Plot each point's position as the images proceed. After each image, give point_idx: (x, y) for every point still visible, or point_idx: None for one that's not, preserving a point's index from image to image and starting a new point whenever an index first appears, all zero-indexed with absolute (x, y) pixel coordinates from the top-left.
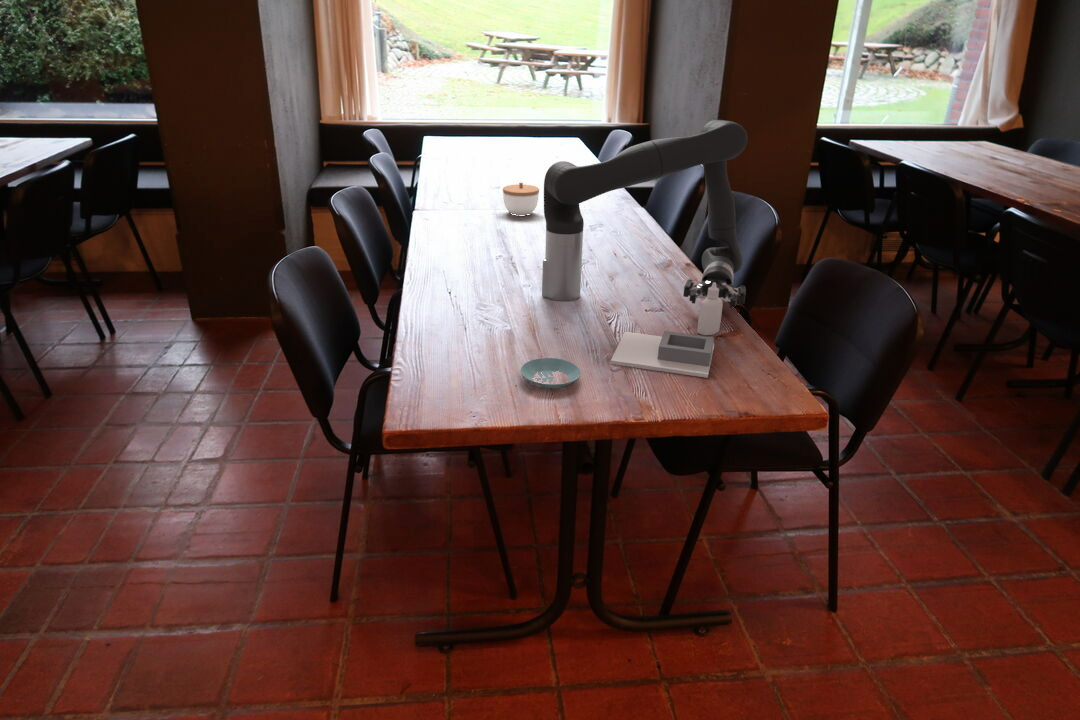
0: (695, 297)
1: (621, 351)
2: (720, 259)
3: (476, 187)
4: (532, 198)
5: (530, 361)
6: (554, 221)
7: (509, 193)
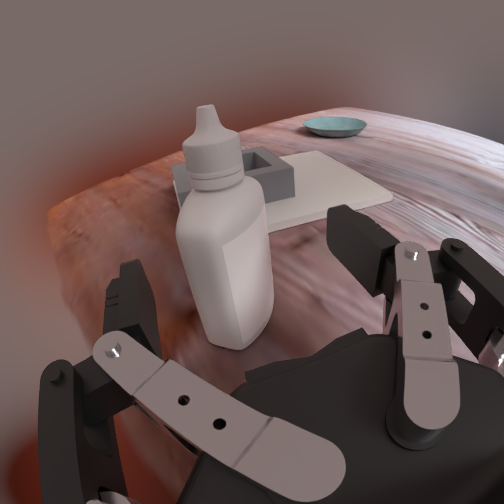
0: (327, 216)
1: (328, 162)
2: None
3: None
4: None
5: (365, 123)
6: None
7: None
